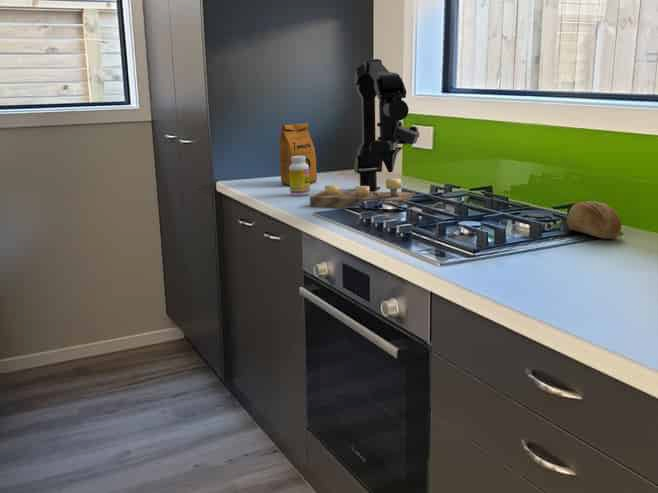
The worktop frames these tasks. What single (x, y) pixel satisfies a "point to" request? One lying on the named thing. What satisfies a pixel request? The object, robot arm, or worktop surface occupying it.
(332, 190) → the button
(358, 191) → the button centre
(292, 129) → the coffee package
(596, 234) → the bread roll
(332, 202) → the mount board
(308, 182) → the supplement bottle
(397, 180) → the button
